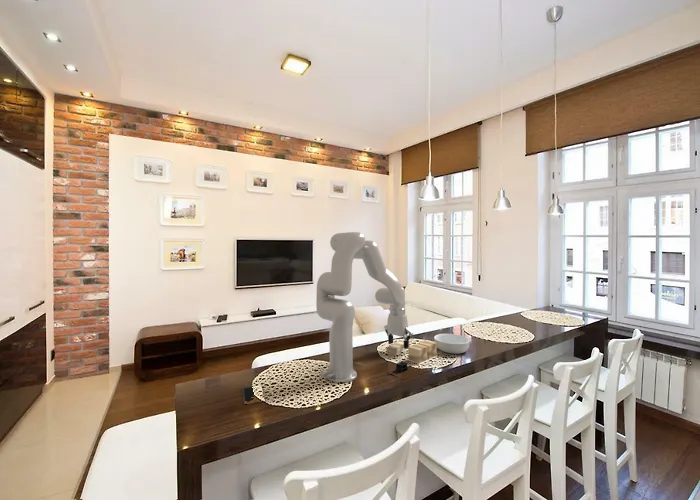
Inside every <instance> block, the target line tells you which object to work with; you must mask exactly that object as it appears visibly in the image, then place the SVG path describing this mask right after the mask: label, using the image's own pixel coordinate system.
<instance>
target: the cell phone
mask: <svg viewBox="0 0 700 500" xmlns="http://www.w3.org/2000/svg"><path fill="white" fill-rule="evenodd" d="M252 387H253V386H252V385H247V386H243V387H241V392H242V402H243V401H244V402H245V401H247V402H249V401H251V400H253V399H254V398H251V397H254V396H253V395H254V392H253V388H252ZM243 398H244V399H243ZM249 403H250V402H249Z"/></svg>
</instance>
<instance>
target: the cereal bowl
mask: <svg viewBox="0 0 700 500" xmlns="http://www.w3.org/2000/svg"><path fill="white" fill-rule="evenodd" d="M433 337H434V338H433V342H435V343H437V349H438V350H439V351H441V352H442V353H446V354H455V355H457V354H463V353H466V352H467V351H468V350H469V347H470V339H469V338H468V337H466V336H464V335H460V334H454V333H439V334H436V335H435V336H433Z"/></svg>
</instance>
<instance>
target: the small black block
mask: <svg viewBox="0 0 700 500" xmlns="http://www.w3.org/2000/svg"><path fill="white" fill-rule="evenodd" d="M408 368H409V366H408V363H407V362H406V361H405V362H404V361H400V362H397V363H396V366H395V371H396V372H398V373H401V374H402V373H403V371H404V370H405V371H408Z"/></svg>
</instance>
